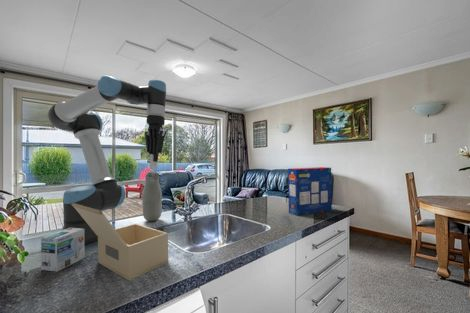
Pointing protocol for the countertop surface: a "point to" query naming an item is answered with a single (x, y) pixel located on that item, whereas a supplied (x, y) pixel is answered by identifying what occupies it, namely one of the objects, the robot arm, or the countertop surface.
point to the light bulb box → (62, 249)
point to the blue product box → (309, 190)
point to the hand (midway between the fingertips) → (153, 169)
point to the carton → (134, 251)
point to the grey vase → (152, 197)
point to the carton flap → (99, 224)
